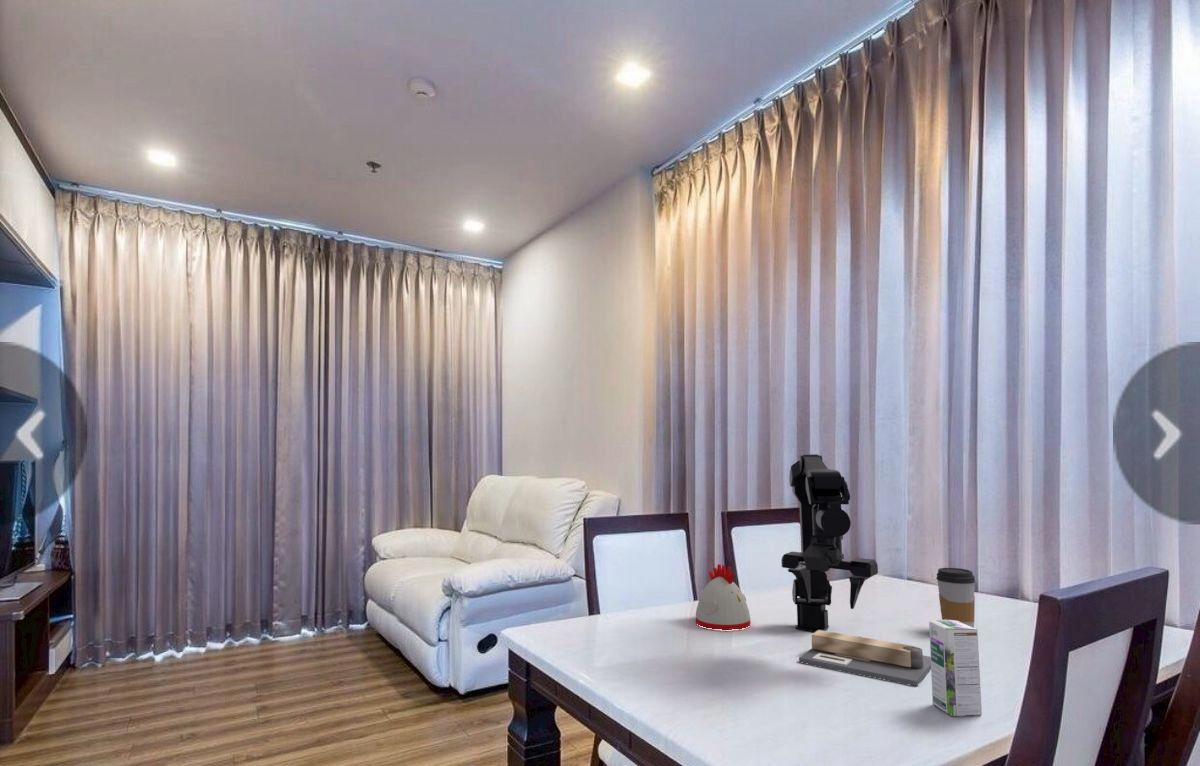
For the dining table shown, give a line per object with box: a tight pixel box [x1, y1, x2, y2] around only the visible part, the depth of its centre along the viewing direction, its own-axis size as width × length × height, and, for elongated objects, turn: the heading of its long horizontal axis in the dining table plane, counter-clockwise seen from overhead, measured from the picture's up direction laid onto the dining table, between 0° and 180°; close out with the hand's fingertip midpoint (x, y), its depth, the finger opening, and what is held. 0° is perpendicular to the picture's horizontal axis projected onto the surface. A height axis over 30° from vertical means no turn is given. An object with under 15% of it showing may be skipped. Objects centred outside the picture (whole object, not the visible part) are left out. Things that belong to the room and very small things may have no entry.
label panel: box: [798, 648, 931, 687], centre depth 137 cm, size 23×17×1 cm
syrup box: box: [928, 619, 983, 717], centre depth 113 cm, size 6×6×14 cm
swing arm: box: [811, 630, 924, 668], centre depth 137 cm, size 22×4×3 cm, turn 52°
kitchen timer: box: [695, 563, 752, 630], centre depth 168 cm, size 14×14×15 cm
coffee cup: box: [936, 567, 976, 628], centre depth 157 cm, size 8×8×15 cm
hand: (830, 605), depth 137 cm, fingers open, 9 cm apart
